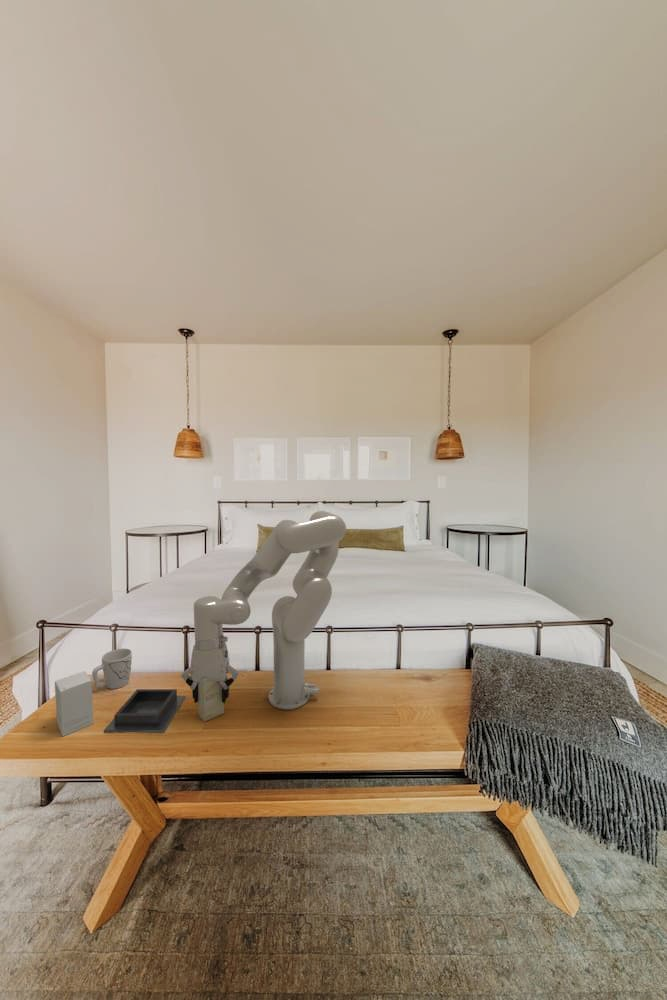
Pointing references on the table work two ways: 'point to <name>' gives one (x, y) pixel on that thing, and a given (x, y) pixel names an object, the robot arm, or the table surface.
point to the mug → (114, 668)
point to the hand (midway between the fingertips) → (211, 699)
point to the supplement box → (74, 703)
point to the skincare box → (209, 699)
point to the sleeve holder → (147, 711)
